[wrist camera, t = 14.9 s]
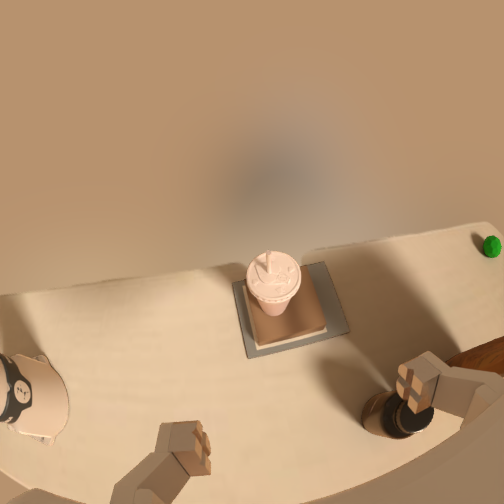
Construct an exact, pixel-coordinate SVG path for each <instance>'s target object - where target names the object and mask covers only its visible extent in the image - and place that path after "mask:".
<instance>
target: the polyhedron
mask: <svg viewBox="0 0 504 504" xmlns="http://www.w3.org/2000/svg"><path fill="white" fill-rule="evenodd" d="M501 247H502V246H501V243H500V240H499V239H498V238H497V237H495V236H494V235H493V236H488V237H487V238H486V239H485V241H484V245H483V248H484V252H485V254H486V255H487V256H489V257H490V258H494V257H497V256H498V255H499V254H500V251H501Z"/></svg>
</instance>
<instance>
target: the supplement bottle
mask: <svg viewBox="0 0 504 504" xmlns="http://www.w3.org/2000/svg"><path fill="white" fill-rule="evenodd" d="M433 415H434V408H433V407H431V406H430V407H428V408H426V409H424V410H422V411H420V412H419V413H417V414H415V413H414V412H413V411H412V410H411V409H410V407H409V406H408V400H404V399H402V398H401V397H400V396H399V394H398V392H397V390H395V391H390V392H384V393H380V394H377V395H375V396H373V397H372V398H371V399H370V400H369V401H368V402H367V403H366V405H365V406H364V409H363V412H362V423H363V425H364V427H365V429H366V430H367V431H368V432H370V433H372V434H374V435H378V436H382V437H387V438H391V439H405V438H408V437H410V436H412V435H413V434H415V433H418V432H421V431H422V430H424V429H425V428H426V427H427V426H428V425H429V424H430V422H431V420H432V418H433Z"/></svg>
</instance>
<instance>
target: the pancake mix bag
mask: <svg viewBox="0 0 504 504" xmlns="http://www.w3.org/2000/svg"><path fill="white" fill-rule="evenodd" d="M445 364H447V365H448V366H449V367H450V368H451V367H460V368H466V369H473V370H480V371H487V372H495V373H497V374H498V375H500V376H501V377H502V378H503V377H504V336H503V337H500V338H497V339H494V340H492V341H490V342H487V343H485V344H482V345H479V346H477V347H474V348H472V349H470V350H467V351H465V352H462V353H460V354H458V355H456V356H454V357H453V358H451V359H450V360H448V361H447V362H445Z"/></svg>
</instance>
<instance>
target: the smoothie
mask: <svg viewBox="0 0 504 504" xmlns="http://www.w3.org/2000/svg"><path fill="white" fill-rule="evenodd" d="M246 280H247V286H248V288H249V290H250V292H251V293H252V294H253V295H254V296H255V297H256V298H257V300H258V302H259V304H260V306H261V308H262V310H263V311H264V312H265V313H266V314H267V315H270V316H278V315H280V314H282V313H283V312H284V310H285V309H286V307H287V305H288V303H289V301H290V299H291V297H292V296H294V295H295V294H296V292H297V291H298V289H299V287H300V284H301V271H300V267H299V265H298V263H297V262H296V261H295V260H294V259H293V258H292V257H291V256H289V255H288V254H285V253H283V252H278V251H270V250H267V251H266V252H265V253H262V254H260V255H258V256H257V257H255V258H254V259H253V260H252V262H251V263H250V264H249V266H248V268H247V273H246Z"/></svg>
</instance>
